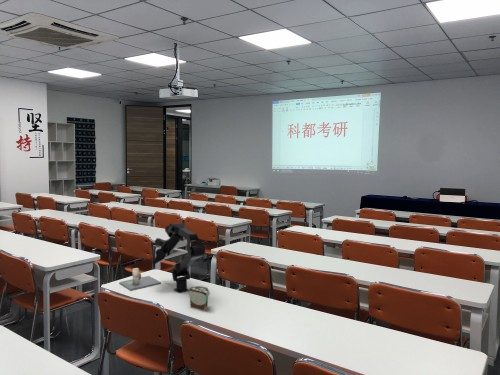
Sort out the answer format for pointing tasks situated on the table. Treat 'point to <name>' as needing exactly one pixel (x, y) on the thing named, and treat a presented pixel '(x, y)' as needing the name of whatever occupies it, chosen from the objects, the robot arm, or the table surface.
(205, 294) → the food container
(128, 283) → the grey flat slab
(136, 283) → the tuning peg
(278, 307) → the table surface
